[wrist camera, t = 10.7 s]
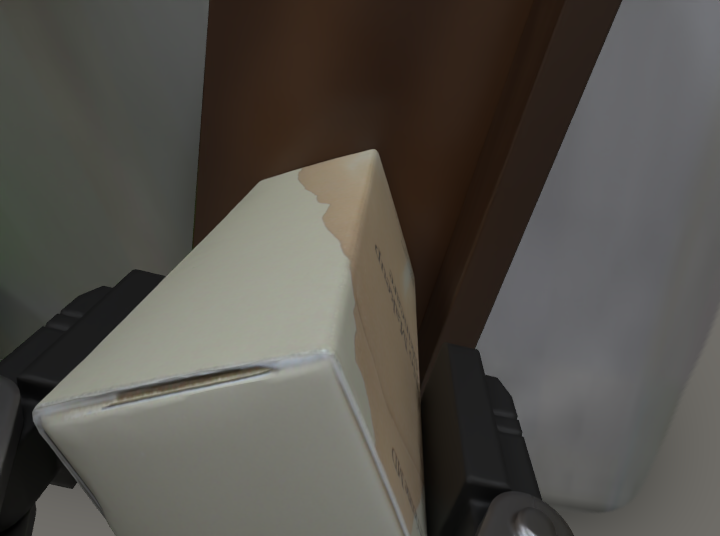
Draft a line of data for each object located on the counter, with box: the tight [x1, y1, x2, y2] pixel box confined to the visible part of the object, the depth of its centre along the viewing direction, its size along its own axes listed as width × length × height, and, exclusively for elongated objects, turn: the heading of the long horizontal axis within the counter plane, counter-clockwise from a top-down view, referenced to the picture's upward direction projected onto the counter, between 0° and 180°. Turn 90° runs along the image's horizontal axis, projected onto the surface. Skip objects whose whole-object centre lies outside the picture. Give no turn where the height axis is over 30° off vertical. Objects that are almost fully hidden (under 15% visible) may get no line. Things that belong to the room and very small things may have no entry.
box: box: [32, 149, 427, 536], centre depth 12 cm, size 5×4×11 cm
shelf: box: [192, 0, 622, 401], centre depth 16 cm, size 10×22×10 cm, turn 167°
